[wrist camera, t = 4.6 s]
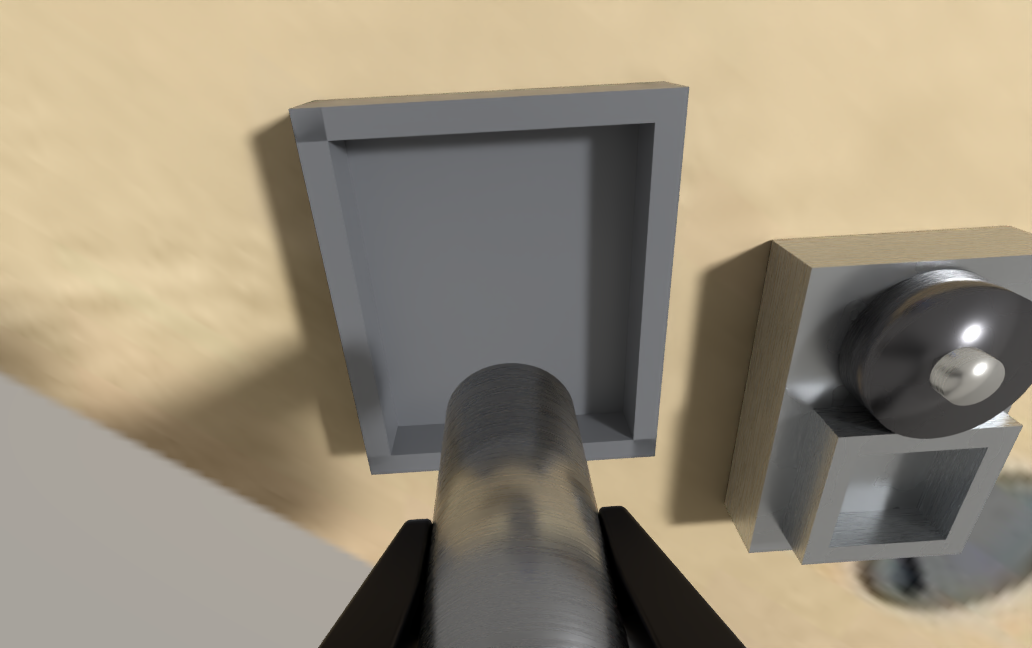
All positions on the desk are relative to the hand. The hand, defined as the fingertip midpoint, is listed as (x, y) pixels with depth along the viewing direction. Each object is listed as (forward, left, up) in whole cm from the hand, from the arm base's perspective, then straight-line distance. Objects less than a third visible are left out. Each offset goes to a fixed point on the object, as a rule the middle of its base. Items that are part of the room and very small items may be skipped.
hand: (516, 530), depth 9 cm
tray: (0, 0, -10) cm, 10 cm away
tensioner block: (-5, -13, -10) cm, 17 cm away
